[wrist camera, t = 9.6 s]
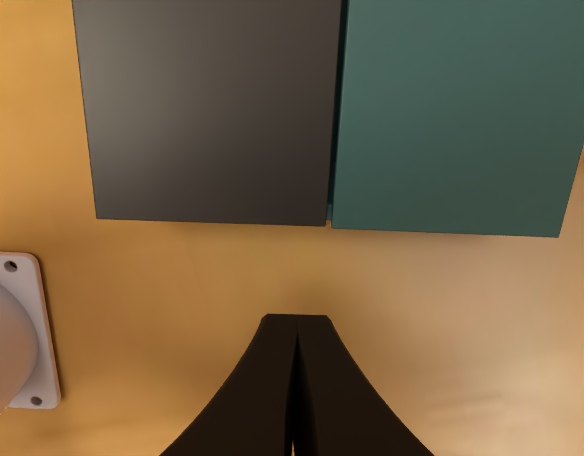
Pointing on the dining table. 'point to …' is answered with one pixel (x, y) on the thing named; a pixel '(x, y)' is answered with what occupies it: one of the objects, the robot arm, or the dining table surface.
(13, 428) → the dining table surface
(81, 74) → the lid
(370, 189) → the storage box
